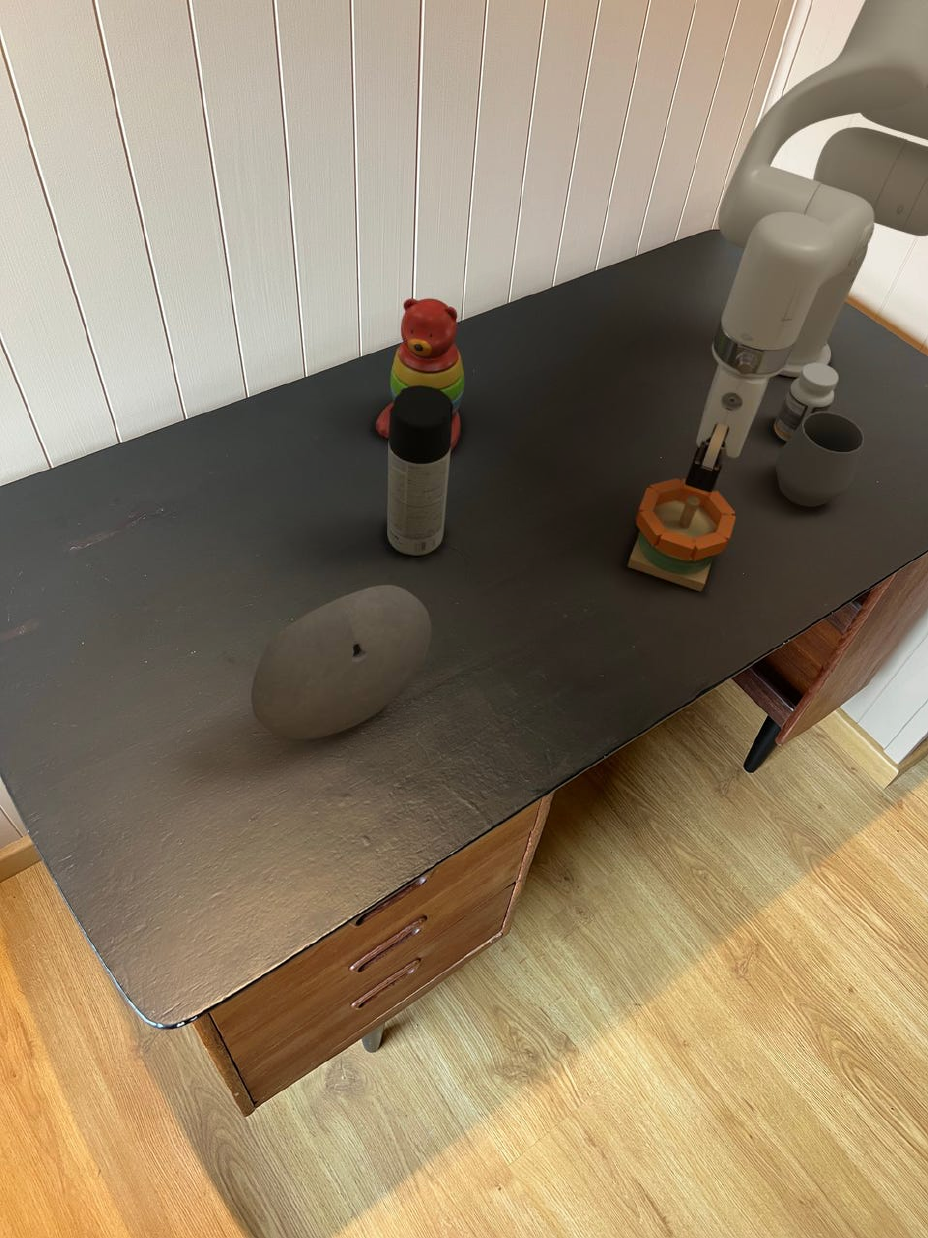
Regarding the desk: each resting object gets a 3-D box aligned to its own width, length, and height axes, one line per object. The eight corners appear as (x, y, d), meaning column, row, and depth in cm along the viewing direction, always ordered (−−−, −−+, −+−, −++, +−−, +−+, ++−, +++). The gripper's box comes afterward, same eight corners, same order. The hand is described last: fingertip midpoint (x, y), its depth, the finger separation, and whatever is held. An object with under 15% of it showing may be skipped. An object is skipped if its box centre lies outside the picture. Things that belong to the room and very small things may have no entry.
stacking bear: (370, 433, 118) (369, 314, 104) (402, 389, 124) (405, 270, 110) (446, 459, 116) (456, 342, 102) (476, 413, 122) (488, 296, 108)
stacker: (645, 516, 113) (663, 462, 106) (718, 539, 111) (741, 486, 104) (626, 567, 108) (643, 514, 100) (701, 592, 106) (725, 541, 99)
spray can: (451, 525, 110) (463, 392, 94) (431, 565, 106) (440, 433, 90) (399, 509, 110) (403, 375, 95) (378, 548, 106) (378, 414, 91)
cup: (854, 498, 118) (888, 440, 110) (807, 528, 114) (839, 469, 106) (797, 456, 122) (827, 396, 114) (751, 483, 118) (778, 423, 110)
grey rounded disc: (408, 655, 98) (413, 537, 83) (443, 704, 94) (455, 590, 79) (248, 731, 91) (222, 617, 76) (279, 787, 87) (259, 679, 72)
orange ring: (650, 481, 109) (654, 468, 108) (736, 508, 108) (742, 496, 106) (627, 540, 103) (631, 528, 102) (718, 571, 101) (723, 559, 100)
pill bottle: (811, 421, 126) (839, 362, 119) (816, 449, 123) (846, 390, 115) (770, 416, 127) (796, 356, 119) (774, 444, 123) (801, 384, 115)
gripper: (775, 403, 85) (718, 534, 100) (803, 308, 95) (748, 440, 110) (698, 380, 87) (653, 512, 101) (733, 288, 96) (687, 421, 111)
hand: (702, 473), depth 105 cm, fingers open, 3 cm apart
